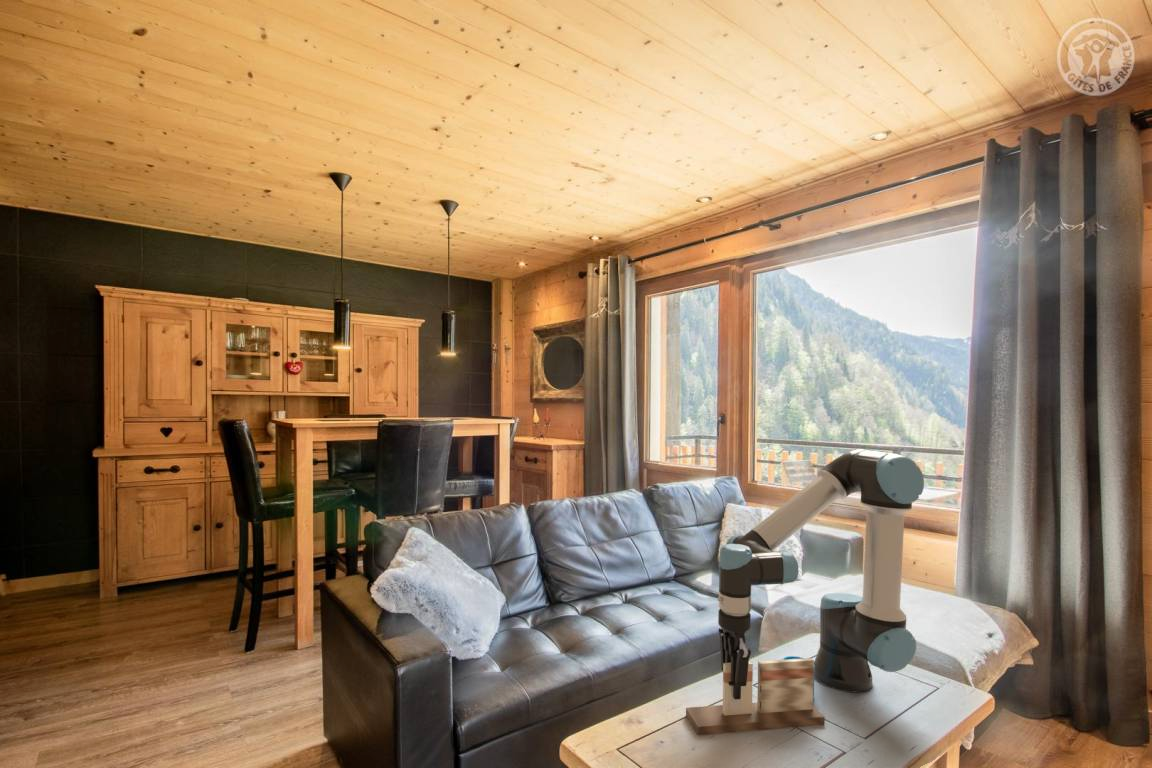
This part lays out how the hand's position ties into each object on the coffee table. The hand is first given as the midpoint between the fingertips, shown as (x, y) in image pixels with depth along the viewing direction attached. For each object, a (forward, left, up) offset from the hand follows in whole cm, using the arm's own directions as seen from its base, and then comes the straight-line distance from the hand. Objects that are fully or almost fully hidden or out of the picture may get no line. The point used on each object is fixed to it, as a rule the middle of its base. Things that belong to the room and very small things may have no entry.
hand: (733, 707), depth 139 cm
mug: (-23, -12, -4) cm, 26 cm away
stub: (-1, 0, -1) cm, 2 cm away
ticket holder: (-6, 0, -3) cm, 7 cm away
